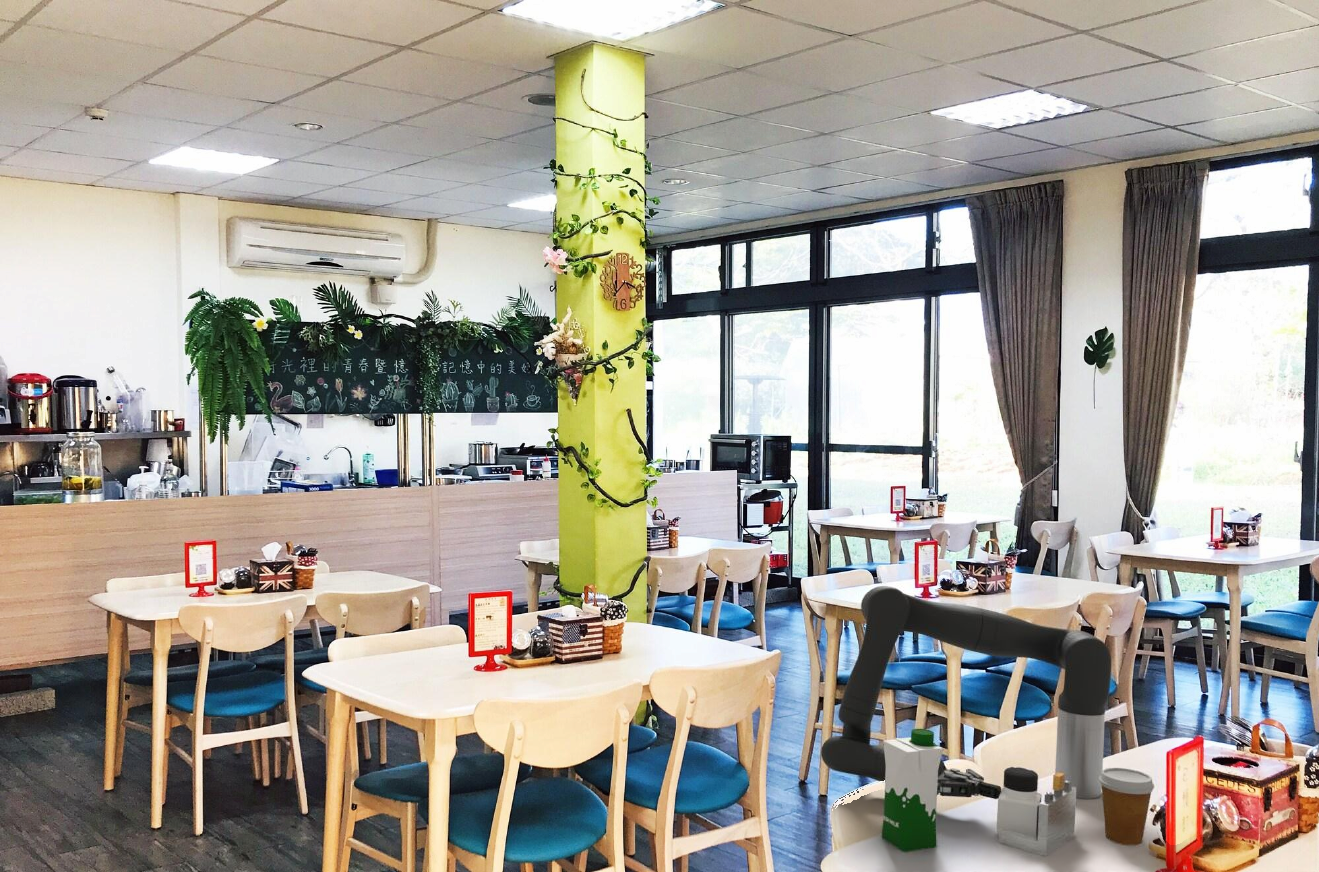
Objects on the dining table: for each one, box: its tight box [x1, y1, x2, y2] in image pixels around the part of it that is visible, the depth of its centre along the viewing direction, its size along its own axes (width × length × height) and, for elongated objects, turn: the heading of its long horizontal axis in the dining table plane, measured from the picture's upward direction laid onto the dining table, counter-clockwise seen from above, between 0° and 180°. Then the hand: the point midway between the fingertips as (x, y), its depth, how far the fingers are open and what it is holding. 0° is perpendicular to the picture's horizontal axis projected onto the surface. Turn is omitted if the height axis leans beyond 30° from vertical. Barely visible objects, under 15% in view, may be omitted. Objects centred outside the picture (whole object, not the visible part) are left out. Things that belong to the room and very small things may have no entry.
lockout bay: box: [999, 772, 1077, 857], centre depth 207 cm, size 14×9×13 cm, turn 140°
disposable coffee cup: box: [1099, 767, 1155, 846], centre depth 209 cm, size 10×10×12 cm
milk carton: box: [881, 728, 944, 853], centre depth 203 cm, size 9×9×20 cm
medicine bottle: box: [996, 766, 1043, 838], centre depth 209 cm, size 7×7×12 cm
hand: (999, 793), depth 212 cm, fingers closed
